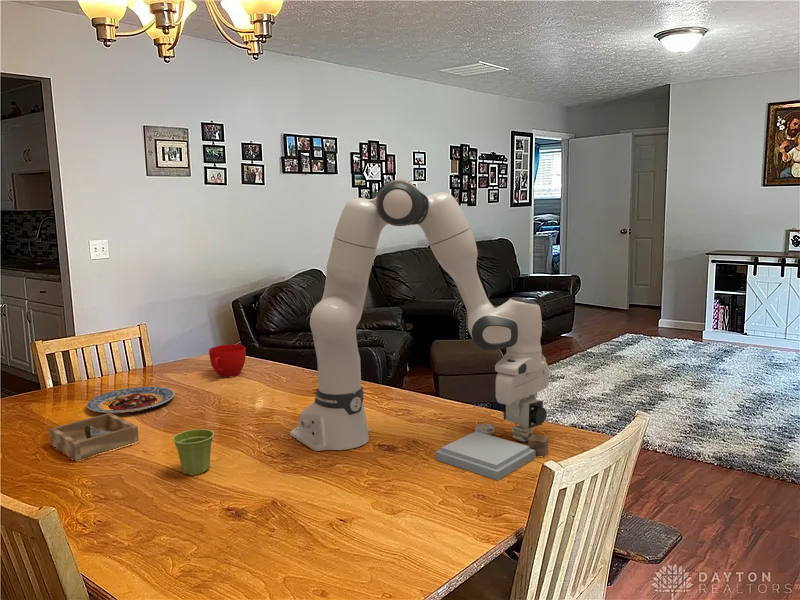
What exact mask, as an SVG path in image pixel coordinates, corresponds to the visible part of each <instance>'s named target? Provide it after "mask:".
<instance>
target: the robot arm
mask: <svg viewBox="0 0 800 600" xmlns="http://www.w3.org/2000/svg"><path fill="white" fill-rule="evenodd" d="M387 225H390V226H394V227H404V226H405V227H407V226H415V225H418V226H419V227H420V228H421V230H422V231H423V233H424V236H425V237H426V240H427V242H428V245H429V247H430V250H431V251H432V253H433V255H434V257H435V259H436V260H437V262H438V264H439V265H440V266H441V268H442V269H443V270H444V271H445V272H446V273H447V274H448V275H449V276H450V277H451V278H452V280H453V281H454V283H455V285H456V287H457V289H458V292H459V294H460V297H461V299H462V301H463V304H464V306H465V309H466V310H465V311H466V317H465V318H466V319H465V326H466V329H467V331H468V334H469V335H470V336H471V339H472V340H473V342H474V344H475V345H476V346H477V347H478V348H479V349H481V350H484V351H490V352H491V351H496V350H503V349H506V353H504V354H503V357H502V358H500V359H499V360H498V361H497V362H496V364H495V366H494V371H495V372H497V374H496V375H495V399H496V402H497V403H499V404H500V405H501V404H505V405H511V408H512V414H513V416H516V417H518V416H520V409H519V405H518V404H519V402H520V400H521V399H523V398H525V397H530V398H534V399H537V397H538V393H539V392H541V391H542V390H543V391H544V390H545V389H547V388H548V387H549V385H550V374H549V373H550V372H549V365H548V363H547V361H546V360H547V359H546V357H545V355H543V351H542V350H543V349H542V345H541V338H542V332H543V328H542V327H543V324H542V321H543V319H542V312H541V311H542V310H541V306H540V305H539V304H538V302H536V301H534V300H533V299H530V298H526V297H521V296H513V297H511V298H509V299H508V300H506V302H504V303H503V304H501V305H499V306H495V305H493V304H492V303H491V301H490V300H489V298H488V296H487V293H486V291H485V289H484V286H483V284H482V282H481V280H480V279H481V278H480V277H479V274H478V268H477V260H478V256H479V255H478V247H477V242H476V240H475V235H474V233H473V231H472V230H473V229H472V228H471V224H470V223H469V221H468V219H467V217H466V215H465V212H464V211H463V209H462V207H461V206H460V204H459V203H458V202H457V200H456V198H455V197H454V196H453V195H452V194H450V193H449V192H442V191H439V192H435V193H433V194H430V195H425V193H422V192H421V191H420V190H419V189H418V187H417V186H416V185H415V184H413V182H411V181H409V180H406V179H394V180H391V181H389V182H387V183H386V184H385V185H383V186H382V188H381V189H380V190H379V191H378V194H377V195H376V196H375V198H371V199H369V198H365V197H356V198H351V199H350V200H348V201H347V202H346V204H345V205H344V207H343V209H342V212H341V214H340V216H339V219H338V222H337V225H336V228H335V231H334V235H333V238H332V239H333V240H332V243H331V248H330V252H329V256H328V260H327V262H326V263H327V265H326V275H325V283H324V290H323V295H322V296H321V297H322V298H321V300H320V301H319V302H317V303H316V304H315V306H314V307H313V309H312V311H311V313H310V319H309V326H310V330H311V332H312V333H311V335H312V339H313V345H314V350H315V354H316V355H315V356H316V362H317V377H318V379H317V380H318V388H316V389H312V395H315V398H314V401H313V402H312V403H311V404H309V405H308V406H307V407H306V408H305V409H303V410H301V412H300V414H299V417H298V426H296V427H295V428H292V429H291V430H290V433H289V434H290V436H291V437H292V438H293V439H295V438H296V439H295V440H297V441H299V443H302V444H303V445H305V446H306V447H308V448H310V449H312V451H315V452H317V451H318V452H320V451H329V450H331V451H343V450H351V449H354V448H355V449H356V448H359V447H361V446H363V445H365V444H367V443H368V442H369V440H370V435H369V432H370V427H369V426H368V425H367V418H366V417H367V416H366V411H365V404H364V403H363V401H364V388H363V386H362V376H361V375H362V373H361V369H362V368H361V357H360V356H361V355H360V352H359V347H358V339H357V338H358V337H357V326H358V324H359V323H360V321H361V318H362V315H363V311H364V307H365V306H364V305H365V301H366V296H367V291H368V287H369V279H370V276H371V271H372V268H373V267H372V266H373V263H374V261H375V260H374V259H375V256H376V251H377V247H378V245H379V240H380V236H381V233H382V231H383V229H384V228H385V227H386V226H387Z"/></svg>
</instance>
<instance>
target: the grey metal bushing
mask: <svg viewBox="0 0 800 600" xmlns="http://www.w3.org/2000/svg"><path fill="white" fill-rule="evenodd" d="M474 428H475V429H474V432H475V431H476V432H480V433H484V434H487V435H491V436H494V437H495V426H494V425H492V424H490V423H479V424H476V425H474Z"/></svg>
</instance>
